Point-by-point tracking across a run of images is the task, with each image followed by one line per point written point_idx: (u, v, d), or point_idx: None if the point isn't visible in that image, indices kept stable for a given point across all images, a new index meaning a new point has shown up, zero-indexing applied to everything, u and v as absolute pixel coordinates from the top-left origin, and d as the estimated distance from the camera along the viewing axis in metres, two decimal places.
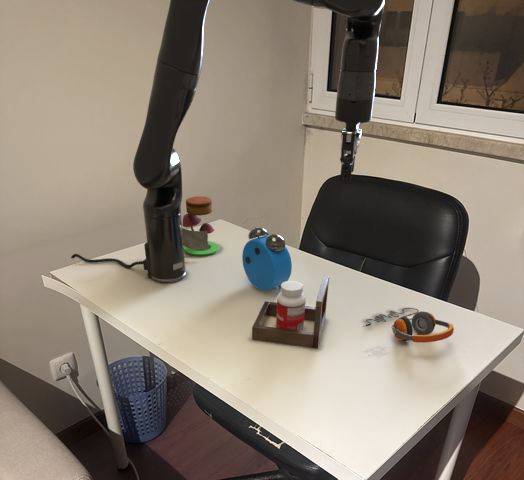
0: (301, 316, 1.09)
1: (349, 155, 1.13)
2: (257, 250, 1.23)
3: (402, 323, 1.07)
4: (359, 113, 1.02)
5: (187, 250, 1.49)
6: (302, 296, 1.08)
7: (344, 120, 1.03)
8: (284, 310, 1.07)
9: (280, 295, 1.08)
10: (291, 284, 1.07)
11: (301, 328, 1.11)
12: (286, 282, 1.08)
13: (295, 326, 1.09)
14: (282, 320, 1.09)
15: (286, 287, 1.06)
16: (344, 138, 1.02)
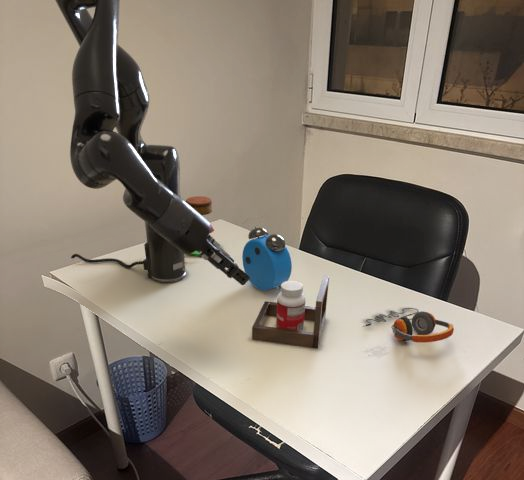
0: (301, 316, 1.09)
1: None
2: (257, 250, 1.23)
3: (402, 323, 1.07)
4: (200, 232, 0.89)
5: None
6: (302, 296, 1.08)
7: (195, 249, 0.91)
8: (284, 310, 1.07)
9: (280, 295, 1.08)
10: (291, 284, 1.07)
11: (301, 328, 1.11)
12: (286, 282, 1.08)
13: (295, 326, 1.09)
14: (282, 320, 1.09)
15: (286, 287, 1.06)
16: (215, 263, 0.90)
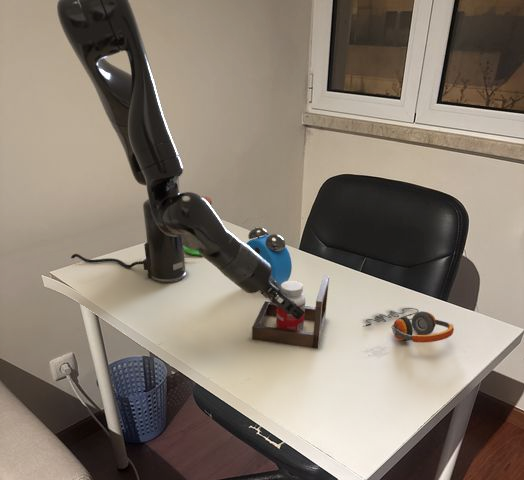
0: None
1: None
2: (257, 250, 1.23)
3: (402, 323, 1.07)
4: (263, 275, 0.99)
5: (187, 250, 1.49)
6: (302, 296, 1.08)
7: (258, 290, 1.00)
8: None
9: None
10: (291, 284, 1.07)
11: (301, 328, 1.11)
12: (286, 282, 1.08)
13: (295, 325, 1.09)
14: (282, 320, 1.09)
15: (286, 287, 1.06)
16: (278, 304, 1.00)
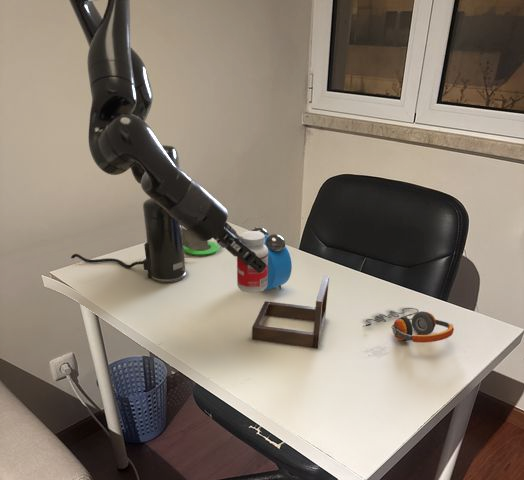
0: None
1: None
2: None
3: (402, 323, 1.07)
4: (217, 219, 0.89)
5: (187, 250, 1.49)
6: (264, 247, 0.98)
7: (213, 236, 0.90)
8: (244, 263, 0.97)
9: None
10: (251, 234, 0.98)
11: (264, 284, 1.01)
12: (247, 232, 0.98)
13: (257, 280, 0.99)
14: (242, 274, 0.99)
15: (246, 236, 0.96)
16: (234, 252, 0.90)
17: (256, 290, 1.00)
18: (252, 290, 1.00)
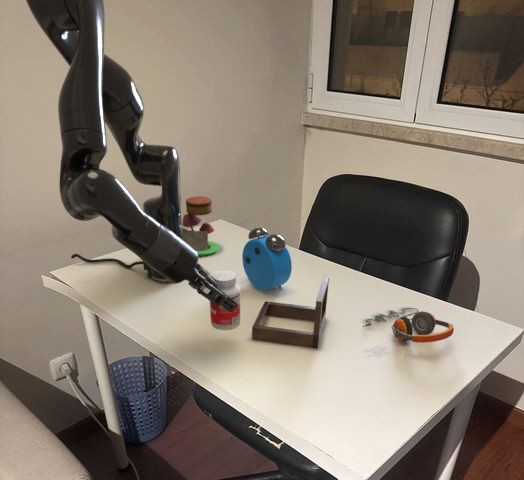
0: None
1: (211, 285, 1.03)
2: (257, 250, 1.23)
3: (402, 323, 1.07)
4: (187, 263, 0.91)
5: None
6: (236, 287, 1.00)
7: (183, 279, 0.92)
8: None
9: None
10: (223, 274, 0.99)
11: (236, 322, 1.03)
12: (219, 272, 1.00)
13: (229, 319, 1.01)
14: (214, 313, 1.01)
15: (218, 277, 0.98)
16: (204, 295, 0.92)
17: (228, 328, 1.02)
18: (225, 328, 1.02)
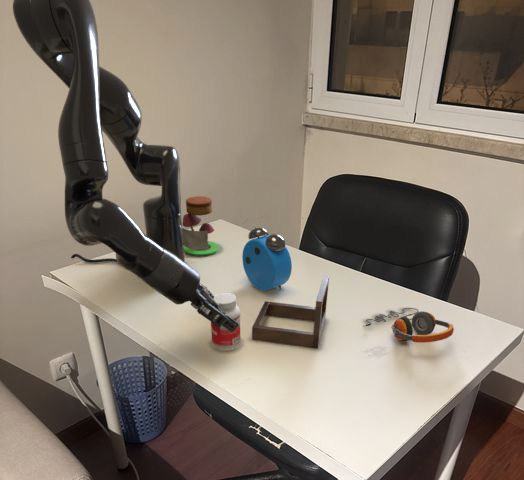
0: (235, 330, 1.03)
1: None
2: (257, 250, 1.23)
3: (402, 323, 1.07)
4: (190, 285, 0.93)
5: (187, 250, 1.49)
6: (236, 309, 1.02)
7: (185, 301, 0.95)
8: None
9: None
10: (224, 296, 1.02)
11: (237, 342, 1.05)
12: (219, 294, 1.03)
13: (229, 340, 1.04)
14: (215, 334, 1.04)
15: (218, 299, 1.01)
16: (204, 314, 0.94)
17: (229, 348, 1.05)
18: (225, 349, 1.05)
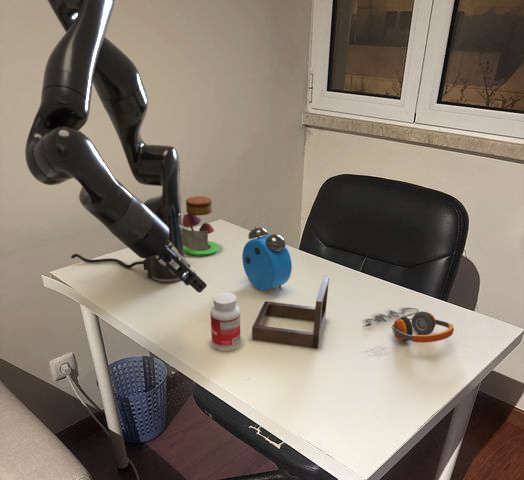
0: (235, 330, 1.03)
1: None
2: (257, 250, 1.23)
3: (402, 323, 1.07)
4: (159, 237, 0.87)
5: (187, 250, 1.49)
6: (236, 309, 1.02)
7: (153, 254, 0.88)
8: (217, 324, 1.02)
9: (213, 308, 1.03)
10: (224, 296, 1.02)
11: (237, 342, 1.05)
12: (219, 294, 1.03)
13: (229, 340, 1.04)
14: (215, 334, 1.04)
15: (218, 299, 1.01)
16: (173, 270, 0.88)
17: (229, 348, 1.05)
18: (225, 349, 1.05)
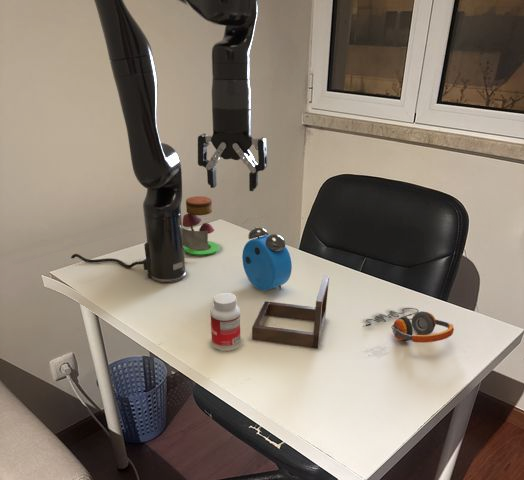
0: (235, 330, 1.03)
1: (213, 169, 1.05)
2: (257, 250, 1.23)
3: (402, 323, 1.07)
4: (250, 120, 1.00)
5: (187, 250, 1.49)
6: (236, 309, 1.02)
7: (246, 130, 0.98)
8: (217, 324, 1.02)
9: (213, 308, 1.03)
10: (224, 296, 1.02)
11: (237, 342, 1.05)
12: (219, 294, 1.03)
13: (229, 340, 1.04)
14: (215, 334, 1.04)
15: (218, 299, 1.01)
16: (264, 146, 1.00)
17: (229, 348, 1.05)
18: (225, 349, 1.05)
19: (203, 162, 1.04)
